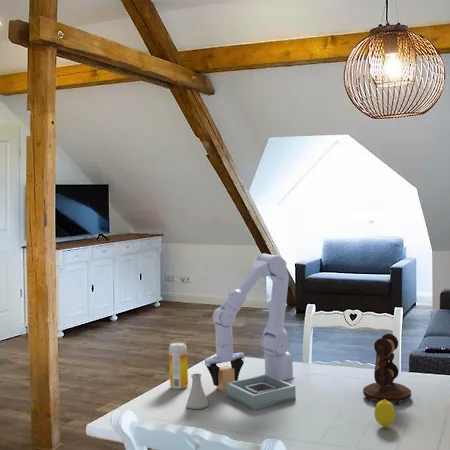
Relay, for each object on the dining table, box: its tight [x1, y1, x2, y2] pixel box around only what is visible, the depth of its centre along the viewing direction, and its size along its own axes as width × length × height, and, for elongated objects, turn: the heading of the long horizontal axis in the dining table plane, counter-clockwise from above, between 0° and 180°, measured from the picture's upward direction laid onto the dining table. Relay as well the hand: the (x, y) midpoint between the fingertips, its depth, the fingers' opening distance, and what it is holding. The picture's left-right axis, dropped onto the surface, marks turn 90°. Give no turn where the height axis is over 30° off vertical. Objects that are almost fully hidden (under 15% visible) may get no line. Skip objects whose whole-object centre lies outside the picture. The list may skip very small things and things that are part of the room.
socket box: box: [225, 373, 297, 411], centre depth 210 cm, size 16×16×4 cm
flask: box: [185, 372, 209, 410], centre depth 205 cm, size 7×7×10 cm
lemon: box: [374, 399, 396, 428], centre depth 182 cm, size 6×6×8 cm
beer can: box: [168, 341, 189, 390], centre depth 224 cm, size 6×6×15 cm
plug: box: [216, 365, 235, 393], centre depth 221 cm, size 4×4×7 cm
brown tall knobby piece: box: [362, 333, 412, 406], centre depth 206 cm, size 15×15×20 cm
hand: (225, 383), depth 221 cm, fingers open, 7 cm apart
